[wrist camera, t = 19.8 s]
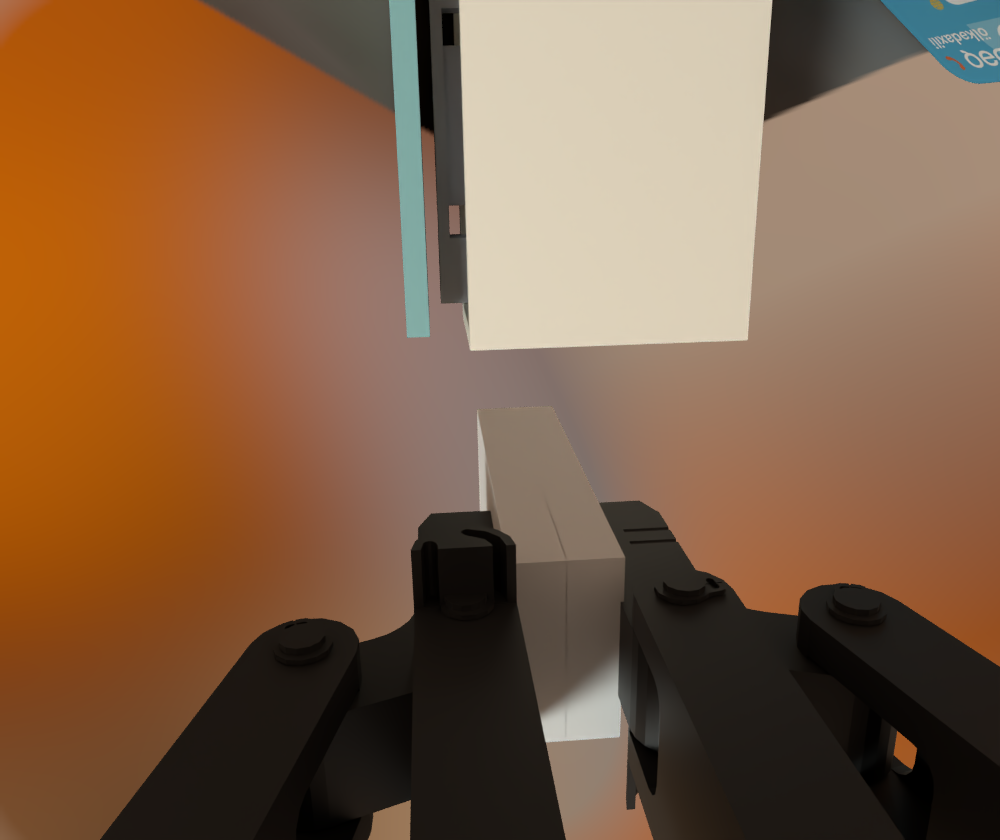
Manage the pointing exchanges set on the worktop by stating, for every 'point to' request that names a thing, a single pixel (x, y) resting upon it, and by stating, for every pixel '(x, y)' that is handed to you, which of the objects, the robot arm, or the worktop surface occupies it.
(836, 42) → the worktop surface
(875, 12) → the worktop surface
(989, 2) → the data package
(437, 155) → the teal grey flat block
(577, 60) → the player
